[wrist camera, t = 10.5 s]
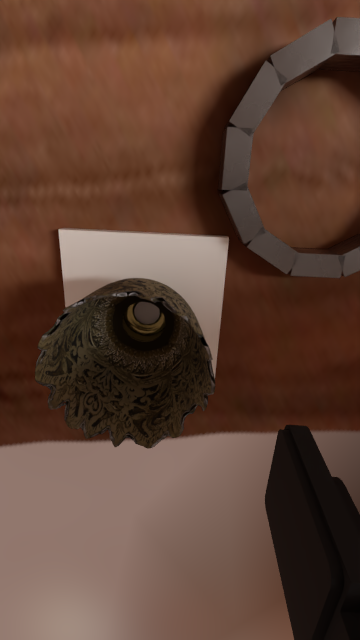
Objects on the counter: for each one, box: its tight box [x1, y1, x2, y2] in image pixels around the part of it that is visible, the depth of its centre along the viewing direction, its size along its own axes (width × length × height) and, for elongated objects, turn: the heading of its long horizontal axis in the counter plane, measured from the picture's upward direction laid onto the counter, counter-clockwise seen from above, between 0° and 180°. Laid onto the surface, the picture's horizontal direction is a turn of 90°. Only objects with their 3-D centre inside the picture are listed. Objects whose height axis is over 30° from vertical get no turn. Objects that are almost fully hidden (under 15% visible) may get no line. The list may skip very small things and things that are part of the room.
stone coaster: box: [58, 228, 229, 378], centre depth 21 cm, size 10×10×1 cm
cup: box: [35, 278, 215, 448], centre depth 17 cm, size 8×7×8 cm
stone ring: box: [218, 17, 360, 278], centre depth 17 cm, size 12×12×2 cm
